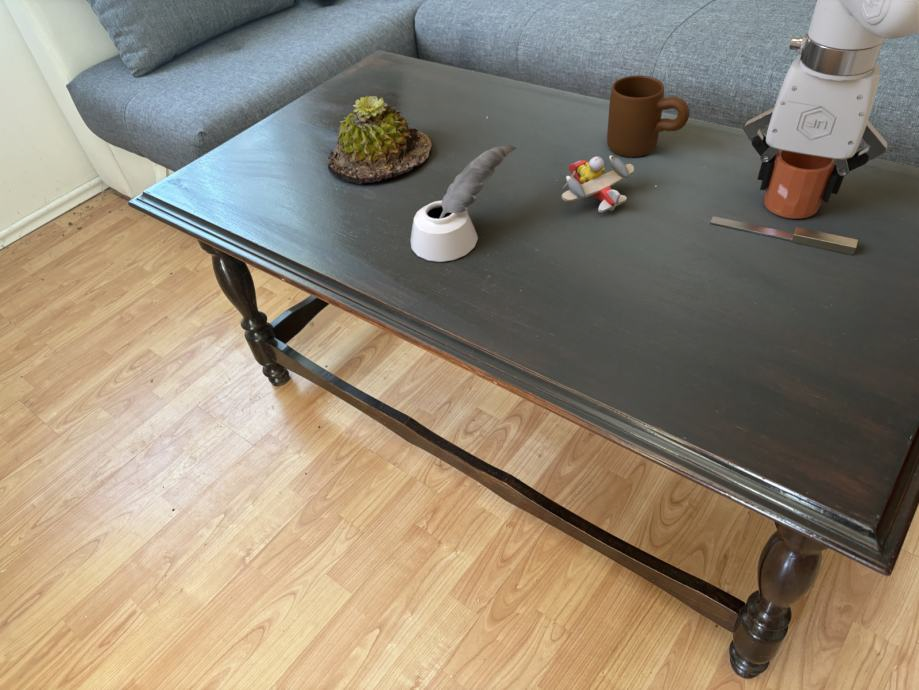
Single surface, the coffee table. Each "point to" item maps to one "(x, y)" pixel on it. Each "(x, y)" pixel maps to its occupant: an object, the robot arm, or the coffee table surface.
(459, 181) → the inkwell
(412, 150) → the cactus
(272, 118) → the coffee table surface
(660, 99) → the mug
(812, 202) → the pot
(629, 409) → the coffee table surface
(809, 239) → the knife
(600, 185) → the toy airplane
